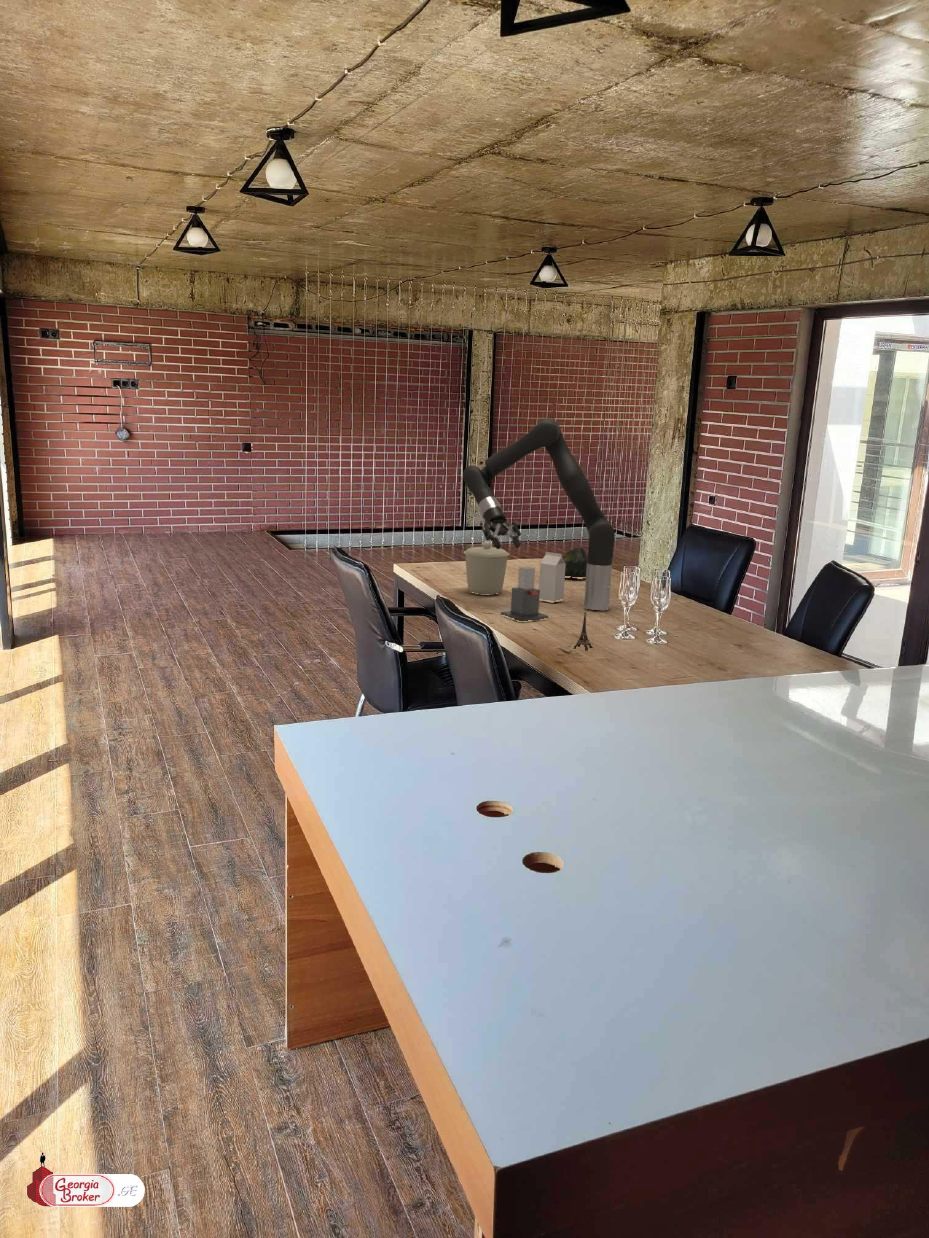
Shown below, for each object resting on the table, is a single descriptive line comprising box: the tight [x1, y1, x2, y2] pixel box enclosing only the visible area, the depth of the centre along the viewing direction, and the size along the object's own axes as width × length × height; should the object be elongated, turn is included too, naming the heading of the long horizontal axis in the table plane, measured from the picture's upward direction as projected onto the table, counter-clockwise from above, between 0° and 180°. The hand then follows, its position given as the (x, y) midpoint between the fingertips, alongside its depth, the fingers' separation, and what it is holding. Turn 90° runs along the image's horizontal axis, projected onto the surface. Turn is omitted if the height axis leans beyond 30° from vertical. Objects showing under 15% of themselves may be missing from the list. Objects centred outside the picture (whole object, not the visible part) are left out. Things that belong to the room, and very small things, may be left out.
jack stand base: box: [500, 586, 549, 621], centre depth 328 cm, size 12×12×10 cm
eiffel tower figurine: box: [565, 608, 593, 651], centre depth 288 cm, size 15×10×13 cm
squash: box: [562, 547, 588, 577], centre depth 409 cm, size 14×15×15 cm
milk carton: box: [538, 551, 566, 601], centre depth 357 cm, size 7×7×19 cm
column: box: [517, 566, 536, 591], centre depth 326 cm, size 4×4×16 cm
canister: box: [463, 540, 510, 594], centre depth 368 cm, size 18×18×21 cm
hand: (509, 547), depth 332 cm, fingers open, 8 cm apart
